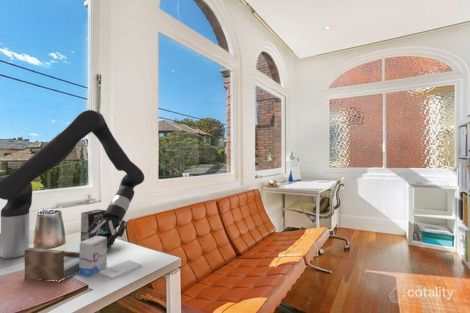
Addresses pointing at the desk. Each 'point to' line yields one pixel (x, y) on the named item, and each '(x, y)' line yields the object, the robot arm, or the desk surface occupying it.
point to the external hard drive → (120, 269)
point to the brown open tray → (50, 264)
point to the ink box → (92, 255)
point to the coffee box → (89, 221)
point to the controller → (105, 235)
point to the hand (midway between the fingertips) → (98, 245)
